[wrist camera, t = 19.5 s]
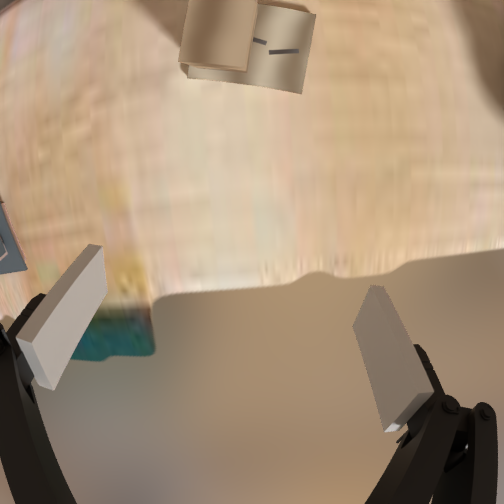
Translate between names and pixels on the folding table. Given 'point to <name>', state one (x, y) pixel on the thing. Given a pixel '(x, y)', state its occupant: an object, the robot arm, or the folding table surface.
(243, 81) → the board
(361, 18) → the folding table surface
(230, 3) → the block
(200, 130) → the folding table surface
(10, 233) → the desk lamp
